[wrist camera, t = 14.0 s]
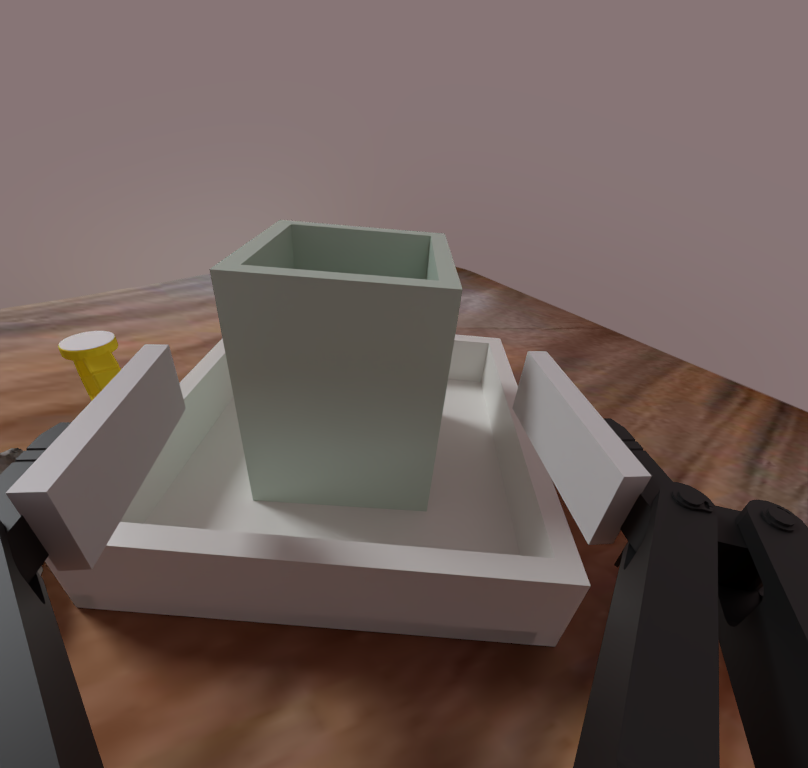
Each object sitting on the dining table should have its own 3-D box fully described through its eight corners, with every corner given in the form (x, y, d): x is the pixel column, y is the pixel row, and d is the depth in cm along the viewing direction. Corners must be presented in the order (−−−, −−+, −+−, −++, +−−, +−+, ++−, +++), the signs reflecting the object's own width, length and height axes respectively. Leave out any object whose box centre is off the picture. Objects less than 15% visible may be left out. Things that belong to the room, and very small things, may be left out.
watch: (81, 412, 27) (44, 331, 24) (126, 396, 29) (97, 319, 26) (110, 450, 24) (71, 362, 21) (159, 430, 26) (130, 346, 23)
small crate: (252, 500, 21) (209, 269, 14) (295, 400, 28) (279, 219, 22) (426, 511, 21) (462, 289, 14) (422, 409, 28) (444, 233, 22)
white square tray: (76, 607, 17) (29, 539, 14) (251, 365, 33) (243, 315, 31) (555, 646, 17) (590, 585, 14) (489, 386, 34) (500, 338, 31)
